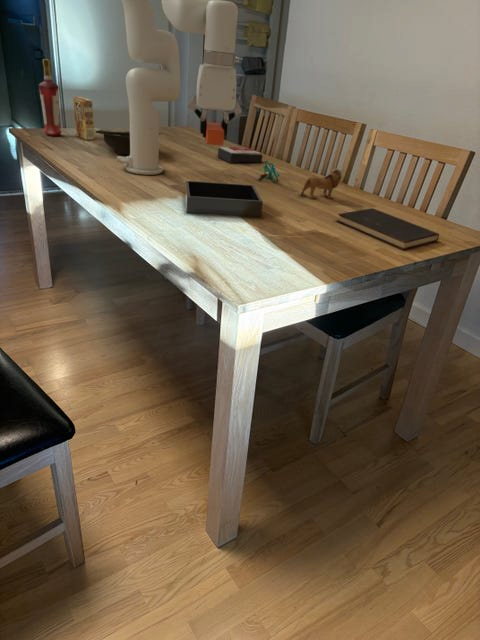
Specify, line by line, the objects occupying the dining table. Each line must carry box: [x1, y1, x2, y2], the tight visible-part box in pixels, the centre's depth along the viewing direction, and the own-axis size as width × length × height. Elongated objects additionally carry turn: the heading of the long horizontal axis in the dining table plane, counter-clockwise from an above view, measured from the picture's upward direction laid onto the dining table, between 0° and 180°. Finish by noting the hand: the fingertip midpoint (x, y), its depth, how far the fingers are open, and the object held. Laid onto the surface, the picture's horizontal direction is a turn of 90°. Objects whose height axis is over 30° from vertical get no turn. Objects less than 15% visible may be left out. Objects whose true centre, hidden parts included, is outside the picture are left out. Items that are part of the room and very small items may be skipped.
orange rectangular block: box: [204, 121, 225, 147], centre depth 126 cm, size 4×12×4 cm, turn 8°
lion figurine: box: [299, 168, 343, 200], centre depth 155 cm, size 15×5×9 cm, turn 116°
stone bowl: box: [94, 129, 162, 156], centre depth 186 cm, size 25×25×9 cm
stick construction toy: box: [258, 159, 281, 183], centre depth 170 cm, size 12×7×8 cm
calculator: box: [217, 146, 263, 164], centre depth 193 cm, size 11×4×15 cm
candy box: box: [72, 96, 96, 141], centre depth 197 cm, size 9×4×15 cm, turn 44°
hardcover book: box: [336, 207, 440, 251], centre depth 133 cm, size 16×23×2 cm
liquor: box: [38, 58, 62, 137], centre depth 192 cm, size 7×7×28 cm
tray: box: [184, 180, 264, 219], centre depth 136 cm, size 21×17×5 cm
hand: (213, 136), depth 127 cm, fingers closed on orange rectangular block, 4 cm apart
